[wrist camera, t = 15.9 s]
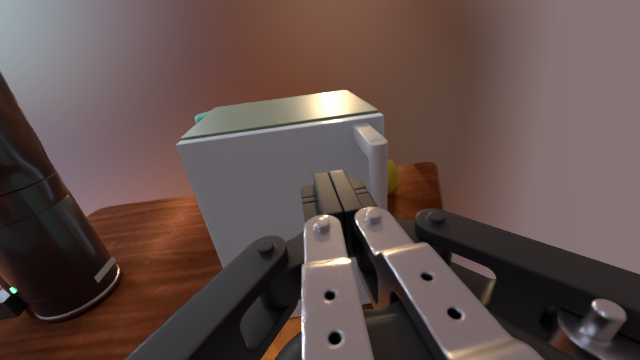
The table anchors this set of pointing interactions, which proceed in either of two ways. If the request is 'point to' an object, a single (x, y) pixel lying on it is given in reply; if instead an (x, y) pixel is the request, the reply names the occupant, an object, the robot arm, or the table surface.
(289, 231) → the cabinet door
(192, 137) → the cabinet
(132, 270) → the table surface
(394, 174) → the lemon
